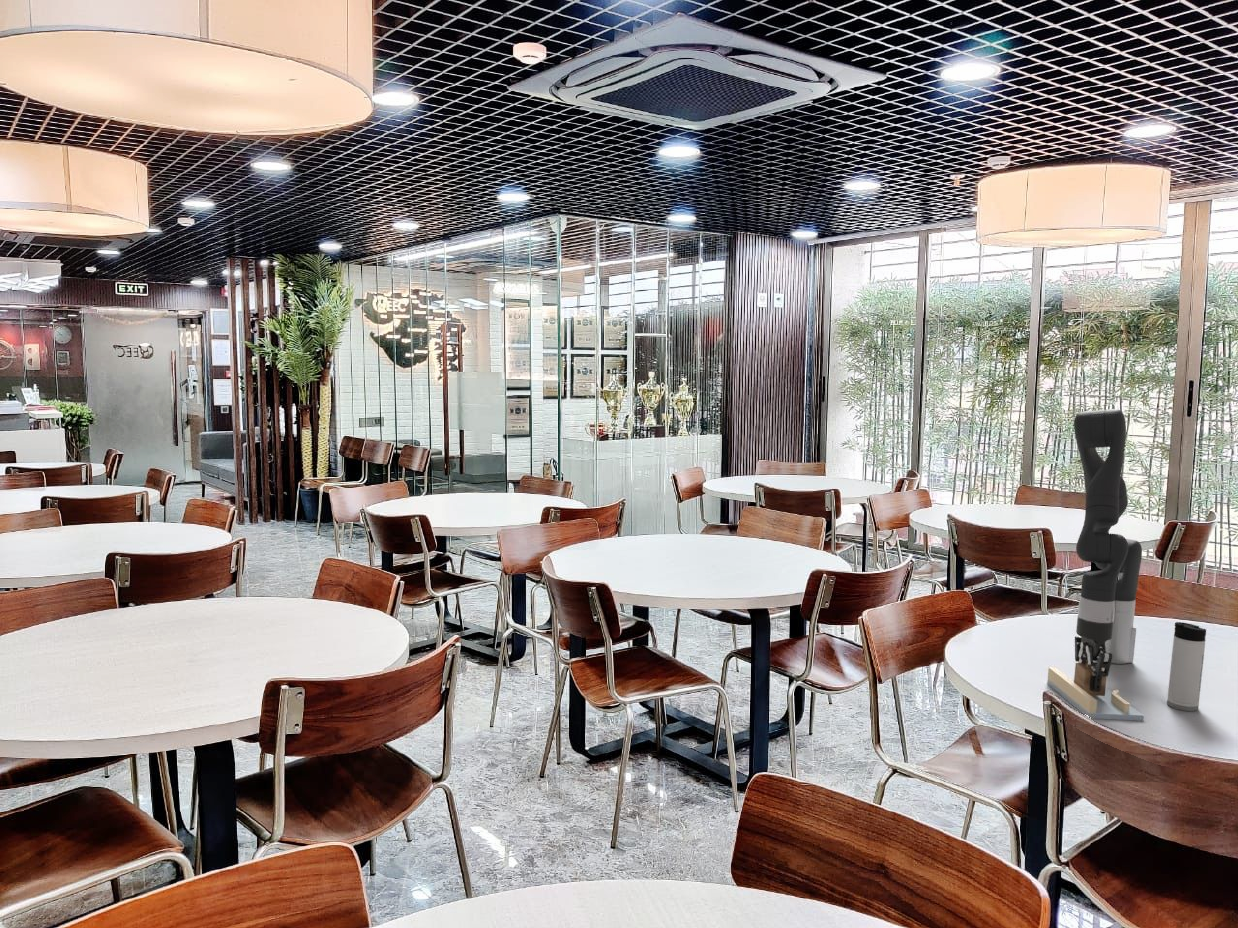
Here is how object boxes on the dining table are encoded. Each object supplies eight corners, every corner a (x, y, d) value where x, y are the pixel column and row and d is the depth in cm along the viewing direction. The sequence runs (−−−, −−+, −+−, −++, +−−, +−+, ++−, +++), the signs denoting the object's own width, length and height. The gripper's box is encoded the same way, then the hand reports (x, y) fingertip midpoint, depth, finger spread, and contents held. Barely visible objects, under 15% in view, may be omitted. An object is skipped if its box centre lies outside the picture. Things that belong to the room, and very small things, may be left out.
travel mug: (1159, 701, 214) (1167, 619, 212) (1185, 701, 215) (1194, 619, 213) (1177, 711, 208) (1186, 627, 206) (1204, 711, 209) (1213, 627, 206)
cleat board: (1096, 685, 224) (1097, 669, 224) (1143, 720, 202) (1145, 702, 202) (1047, 683, 225) (1048, 667, 224) (1088, 718, 203) (1090, 700, 202)
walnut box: (1094, 687, 216) (1097, 661, 215) (1104, 695, 211) (1107, 668, 210) (1073, 686, 216) (1075, 660, 215) (1082, 694, 211) (1085, 668, 210)
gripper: (1127, 626, 204) (1120, 698, 206) (1097, 609, 218) (1091, 676, 220) (1093, 625, 204) (1087, 697, 206) (1065, 607, 218) (1059, 675, 220)
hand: (1089, 686), depth 213 cm, fingers closed on walnut box, 5 cm apart
